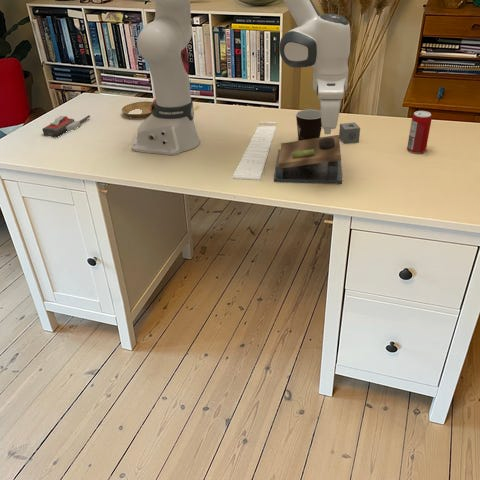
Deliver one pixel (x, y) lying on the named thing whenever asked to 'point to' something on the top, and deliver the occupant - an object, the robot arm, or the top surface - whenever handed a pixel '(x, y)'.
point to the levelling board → (308, 146)
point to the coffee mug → (308, 124)
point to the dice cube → (349, 133)
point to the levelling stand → (310, 173)
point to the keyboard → (255, 154)
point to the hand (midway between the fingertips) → (327, 132)
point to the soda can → (419, 132)
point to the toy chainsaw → (62, 126)
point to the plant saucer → (138, 105)
